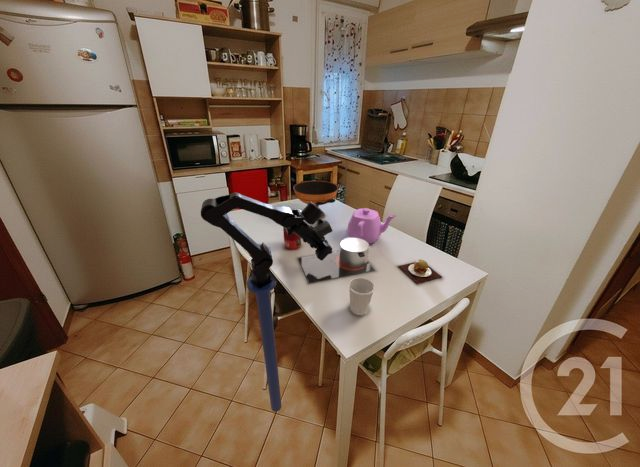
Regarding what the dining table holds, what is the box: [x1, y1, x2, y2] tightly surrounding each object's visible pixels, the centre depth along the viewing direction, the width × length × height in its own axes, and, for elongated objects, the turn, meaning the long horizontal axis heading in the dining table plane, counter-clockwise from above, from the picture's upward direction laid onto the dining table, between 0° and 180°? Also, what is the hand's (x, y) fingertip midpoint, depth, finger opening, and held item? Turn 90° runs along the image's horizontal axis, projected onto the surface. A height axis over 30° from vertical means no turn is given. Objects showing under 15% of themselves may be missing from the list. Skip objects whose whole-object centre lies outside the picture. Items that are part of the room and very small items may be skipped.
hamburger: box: [397, 259, 443, 285], centre depth 105 cm, size 12×12×6 cm
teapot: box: [346, 207, 397, 244], centre depth 127 cm, size 23×21×15 cm
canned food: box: [282, 226, 302, 251], centre depth 122 cm, size 8×8×11 cm
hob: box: [297, 250, 376, 284], centre depth 111 cm, size 28×18×1 cm, turn 108°
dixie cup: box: [347, 277, 376, 316], centre depth 85 cm, size 8×8×10 cm
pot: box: [339, 236, 370, 269], centre depth 111 cm, size 12×15×8 cm
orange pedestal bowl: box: [292, 180, 339, 219], centre depth 151 cm, size 36×26×18 cm
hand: (331, 252), depth 107 cm, fingers closed
